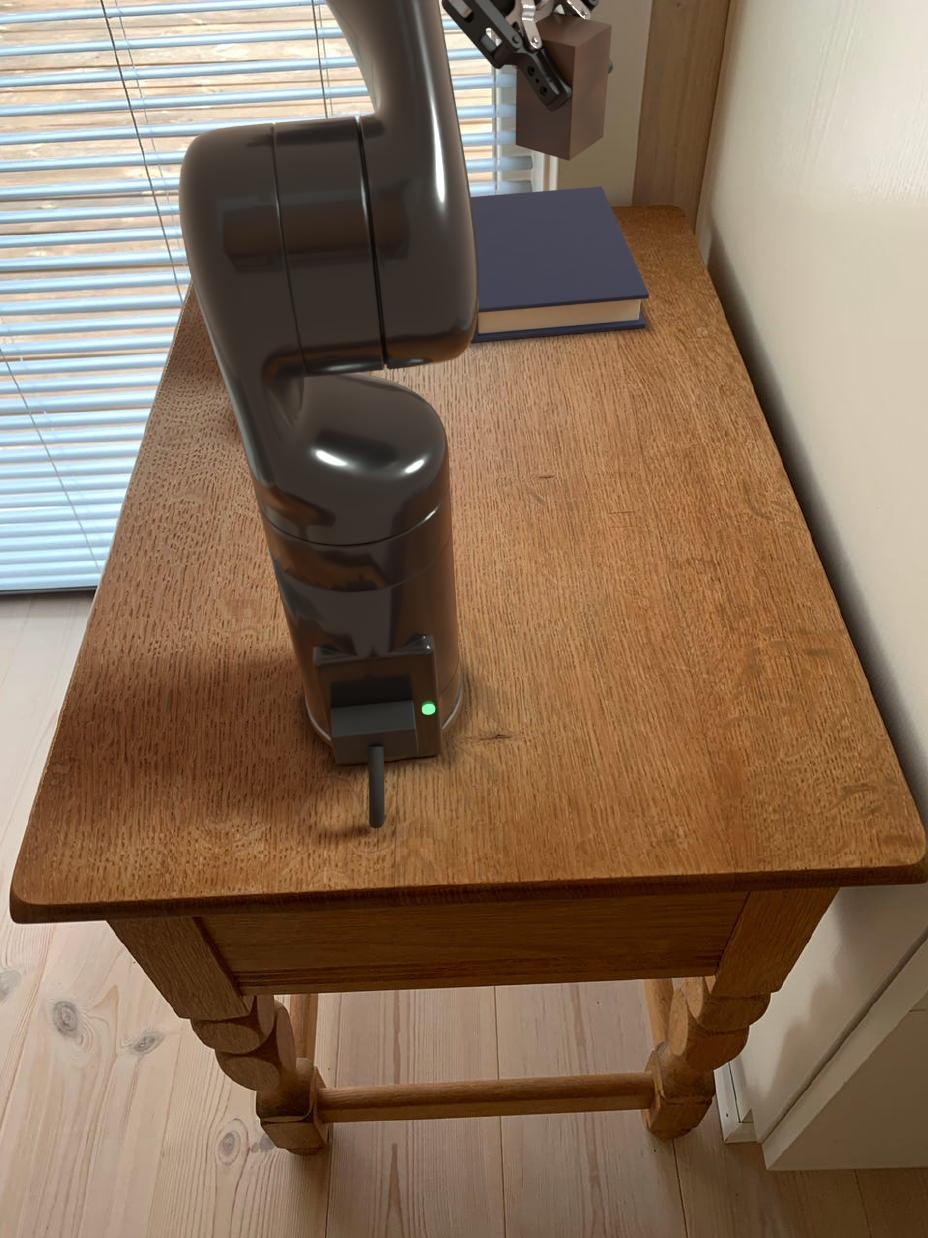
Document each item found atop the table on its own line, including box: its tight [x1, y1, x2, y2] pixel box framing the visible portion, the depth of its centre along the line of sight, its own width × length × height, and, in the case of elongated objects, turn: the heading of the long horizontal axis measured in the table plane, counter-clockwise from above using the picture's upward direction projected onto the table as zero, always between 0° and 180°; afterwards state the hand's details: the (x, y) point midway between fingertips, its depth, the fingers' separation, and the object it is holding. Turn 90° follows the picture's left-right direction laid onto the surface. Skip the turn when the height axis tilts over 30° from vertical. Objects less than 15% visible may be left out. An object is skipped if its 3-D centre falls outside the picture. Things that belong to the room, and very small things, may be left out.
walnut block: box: [515, 12, 613, 162], centre depth 74 cm, size 5×5×8 cm
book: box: [470, 186, 650, 344], centre depth 90 cm, size 20×15×3 cm
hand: (582, 89), depth 73 cm, fingers closed on walnut block, 5 cm apart
